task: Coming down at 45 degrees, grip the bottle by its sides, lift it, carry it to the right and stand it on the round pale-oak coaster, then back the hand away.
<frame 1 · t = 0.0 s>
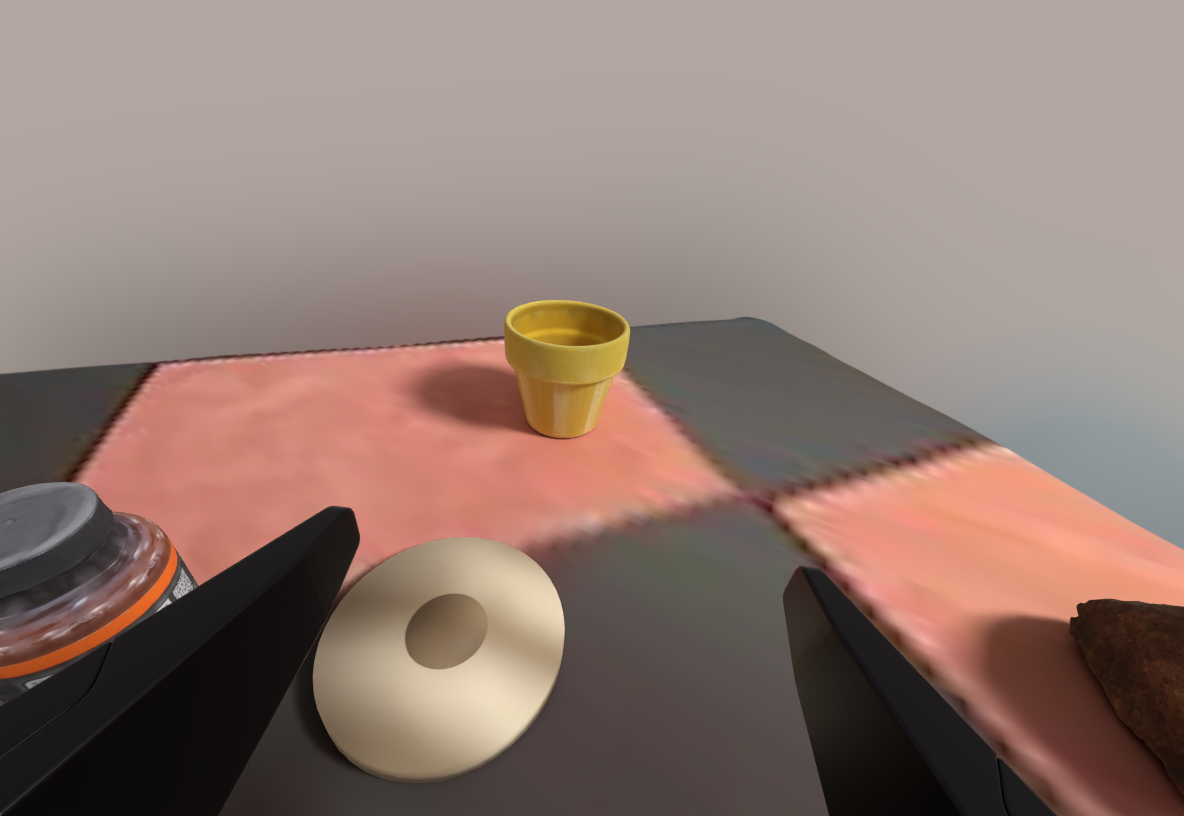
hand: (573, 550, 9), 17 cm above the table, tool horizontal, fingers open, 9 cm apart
decorative rock: (1164, 738, 24), on the table
plant pot: (560, 419, 42), on the table
coaster: (449, 641, 24), on the table
supplement bottle: (160, 696, 20), on the table
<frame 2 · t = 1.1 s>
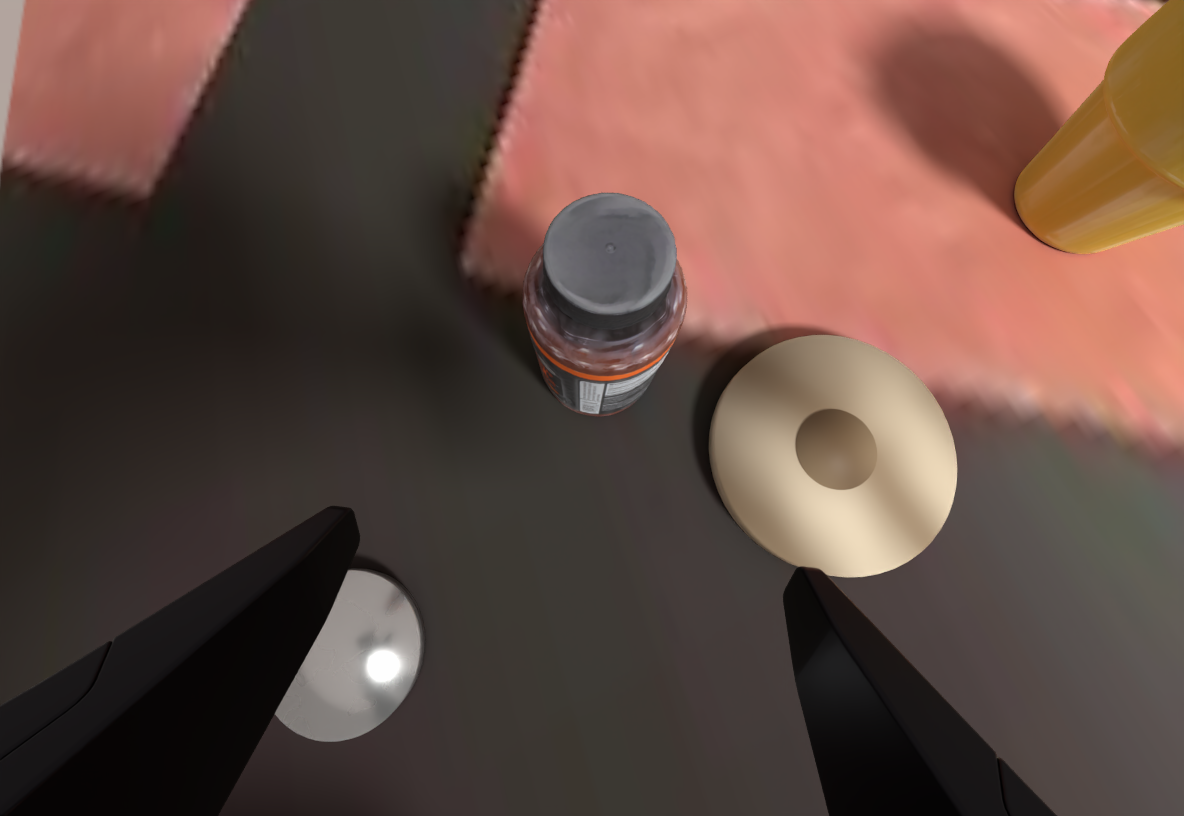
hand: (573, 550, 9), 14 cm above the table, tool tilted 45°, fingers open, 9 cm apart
plant pot: (1061, 206, 27), on the table
coaster: (823, 451, 23), on the table
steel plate: (349, 647, 21), on the table
supplement bottle: (596, 366, 24), on the table
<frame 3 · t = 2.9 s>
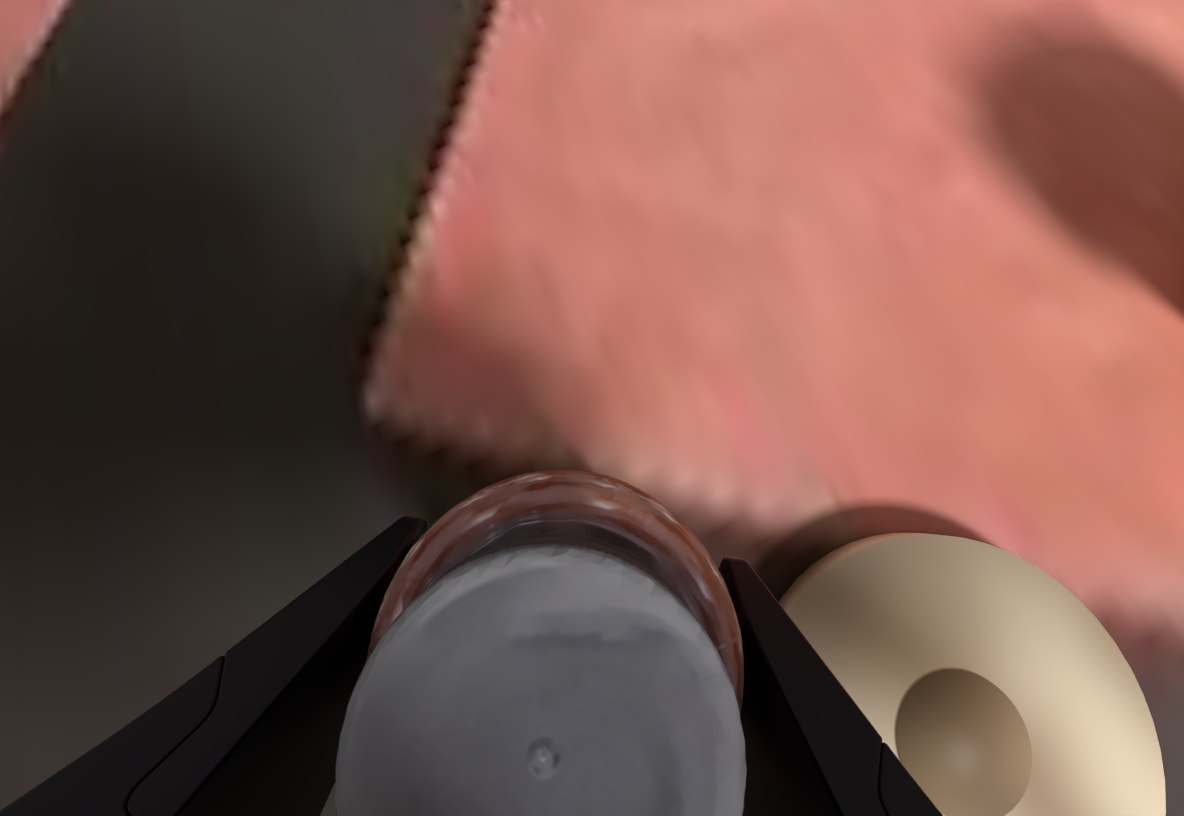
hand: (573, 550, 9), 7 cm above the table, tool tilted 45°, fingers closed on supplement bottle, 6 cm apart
coaster: (932, 724, 15), on the table
supplement bottle: (570, 572, 15), on the table, touching gripper
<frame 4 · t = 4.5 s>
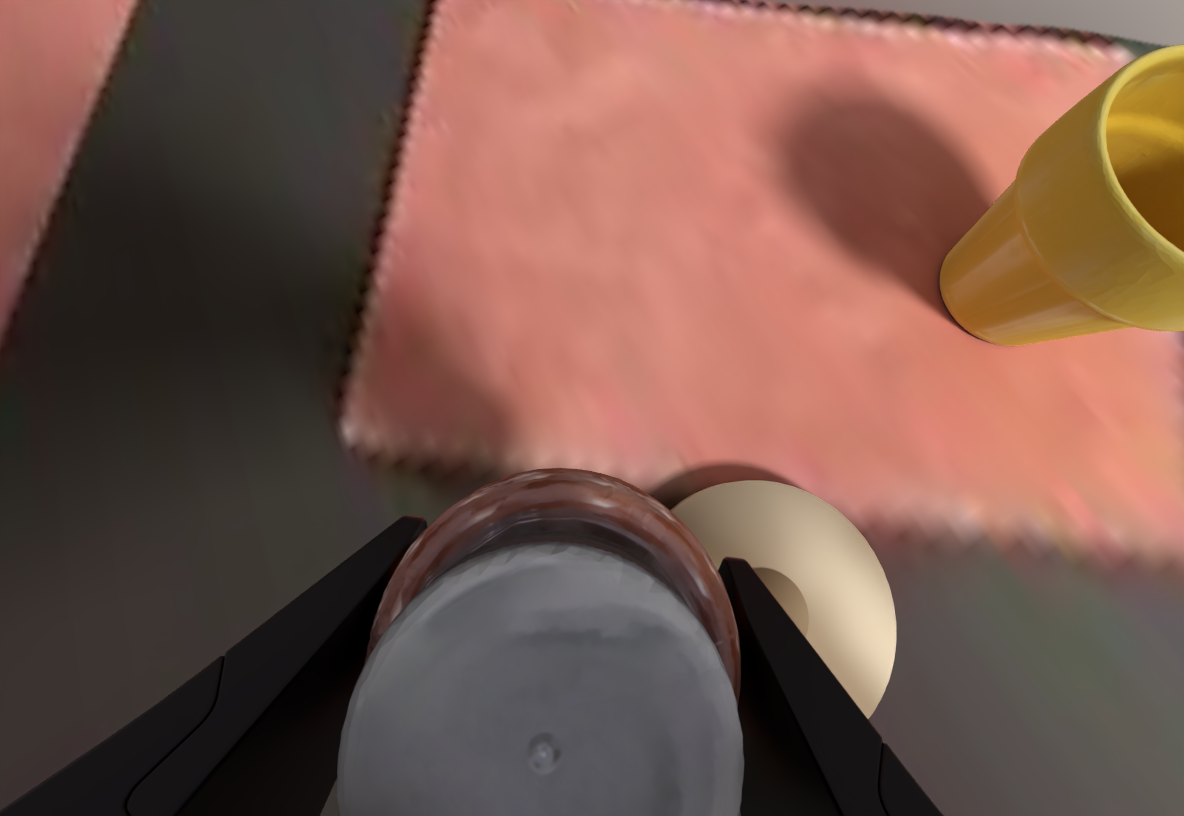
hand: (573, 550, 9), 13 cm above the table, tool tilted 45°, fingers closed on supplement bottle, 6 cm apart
plant pot: (991, 290, 25), on the table
coaster: (753, 608, 21), on the table
supplement bottle: (567, 570, 16), point 6 cm above the table, touching gripper
when the fingers open (9 cm above the table, at t = 6.3 s): supplement bottle stays where it is, resting on coaster.
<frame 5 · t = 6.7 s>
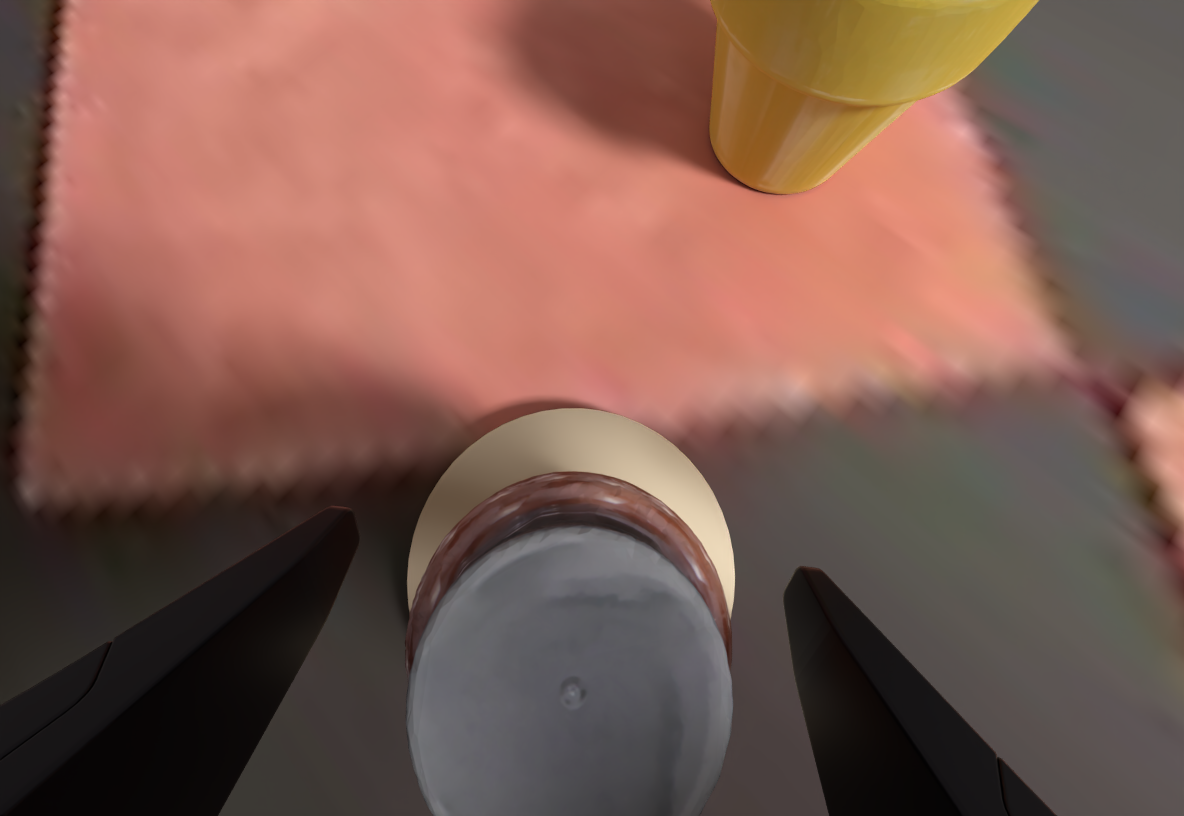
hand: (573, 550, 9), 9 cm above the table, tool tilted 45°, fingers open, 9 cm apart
plant pot: (772, 139, 22), on the table
coaster: (572, 563, 18), on the table
supplement bottle: (571, 573, 16), point 1 cm above the table, touching coaster
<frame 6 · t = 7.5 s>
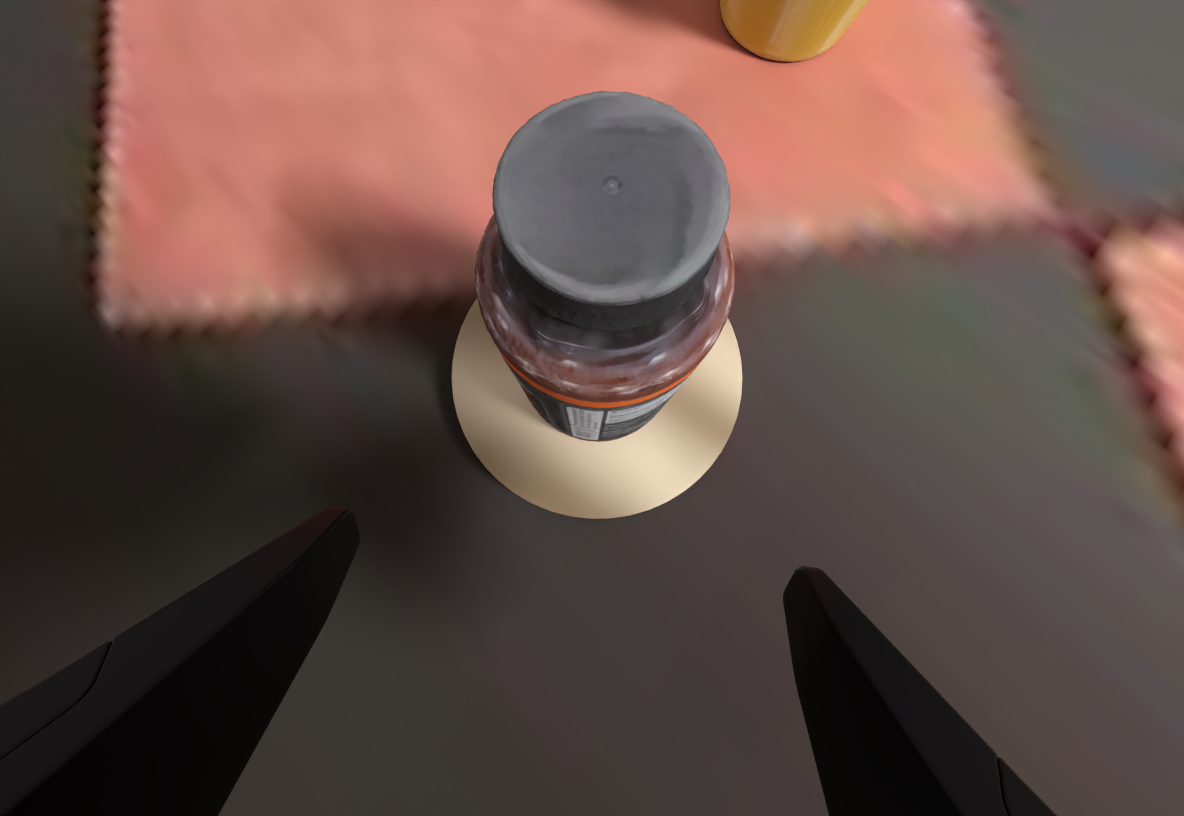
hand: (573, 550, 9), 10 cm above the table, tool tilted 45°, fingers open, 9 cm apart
plant pot: (778, 14, 24), on the table
coaster: (596, 376, 20), on the table
supplement bottle: (596, 374, 19), point 1 cm above the table, touching coaster
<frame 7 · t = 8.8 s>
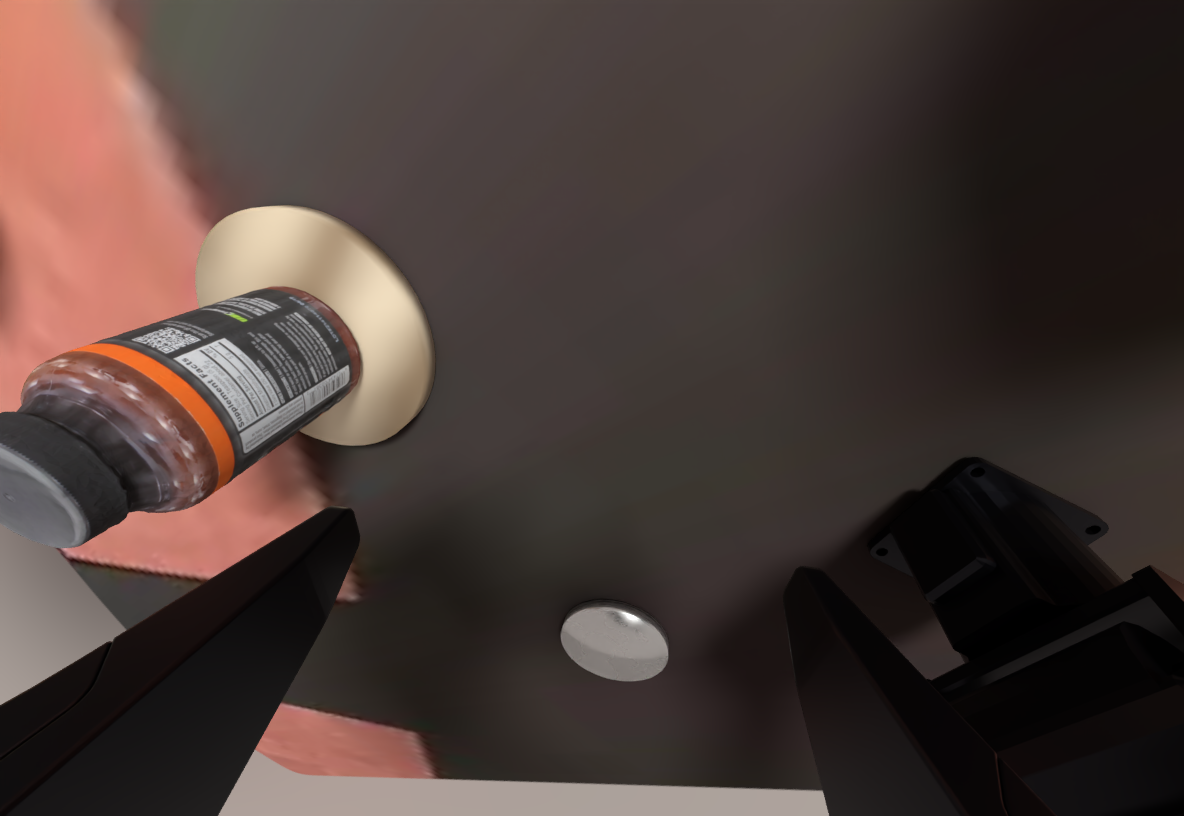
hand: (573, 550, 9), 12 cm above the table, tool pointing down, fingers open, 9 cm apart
coaster: (326, 333, 23), on the table
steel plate: (615, 636, 30), on the table
supplement bottle: (313, 342, 22), point 1 cm above the table, touching coaster
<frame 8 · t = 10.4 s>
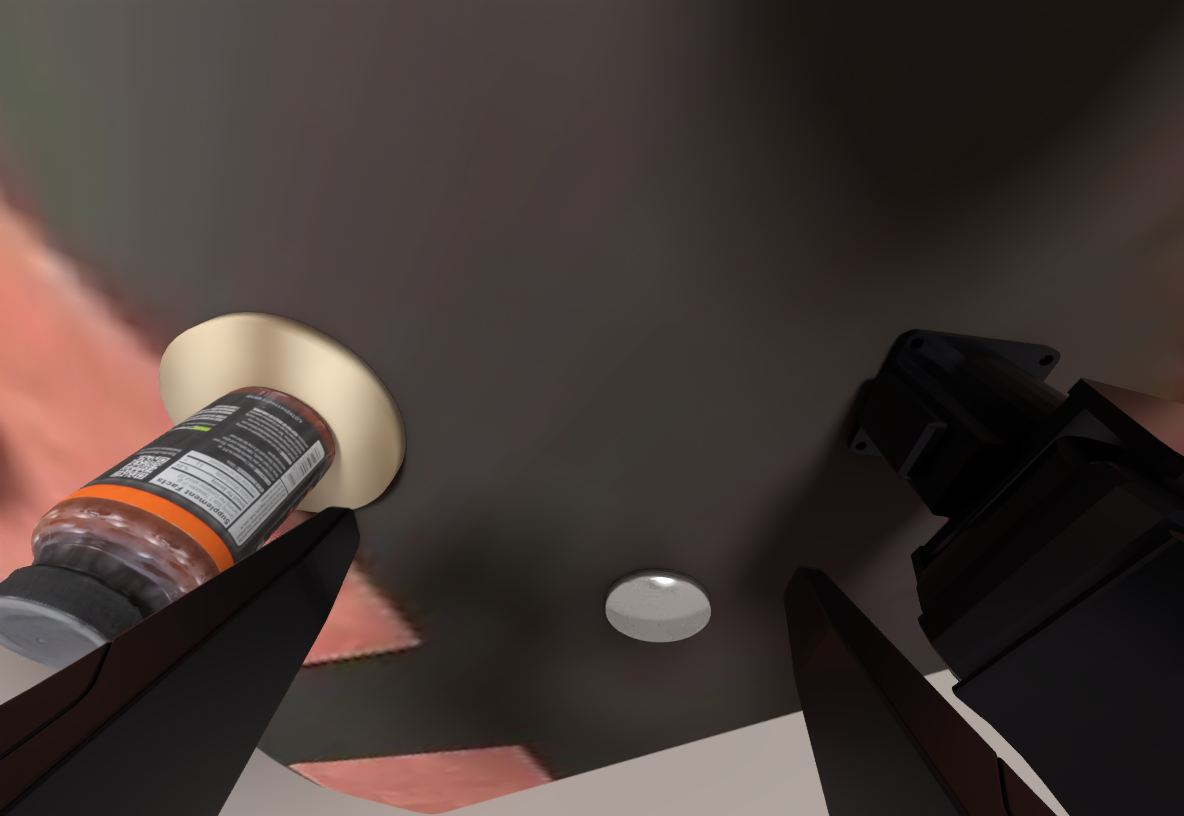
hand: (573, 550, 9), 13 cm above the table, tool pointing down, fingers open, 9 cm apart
coaster: (296, 417, 24), on the table
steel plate: (656, 601, 31), on the table
supplement bottle: (286, 429, 23), point 1 cm above the table, touching coaster
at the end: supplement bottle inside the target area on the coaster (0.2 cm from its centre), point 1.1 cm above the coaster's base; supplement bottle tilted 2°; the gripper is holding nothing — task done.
